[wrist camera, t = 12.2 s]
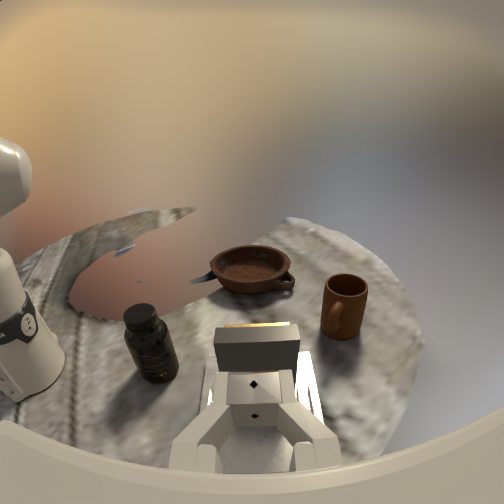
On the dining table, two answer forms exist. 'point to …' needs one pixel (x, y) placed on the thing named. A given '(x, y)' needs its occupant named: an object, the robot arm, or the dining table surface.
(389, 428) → the dining table surface
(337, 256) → the dining table surface
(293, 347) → the gray rectangular block
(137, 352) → the supplement bottle
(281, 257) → the dish
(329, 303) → the mug
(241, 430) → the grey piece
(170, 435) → the dining table surface
